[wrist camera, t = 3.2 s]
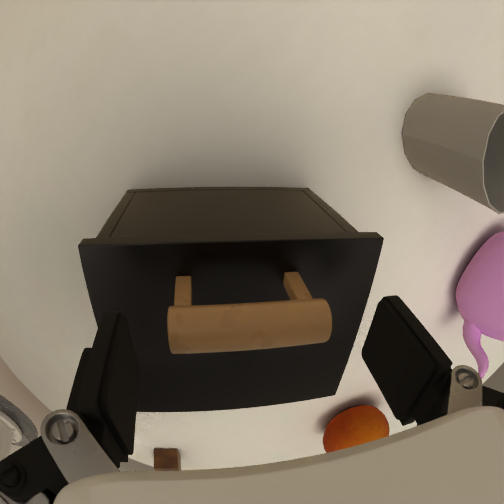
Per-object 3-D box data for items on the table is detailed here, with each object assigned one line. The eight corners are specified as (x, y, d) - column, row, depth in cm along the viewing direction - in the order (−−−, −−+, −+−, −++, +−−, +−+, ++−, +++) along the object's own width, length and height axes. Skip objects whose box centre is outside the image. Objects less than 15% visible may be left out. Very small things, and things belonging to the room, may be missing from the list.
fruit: (323, 403, 41) (341, 448, 34) (384, 389, 42) (406, 427, 35) (311, 438, 46) (325, 476, 39) (366, 424, 47) (382, 459, 40)
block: (158, 457, 42) (158, 476, 39) (153, 448, 40) (153, 468, 37) (180, 457, 43) (181, 477, 40) (177, 448, 41) (178, 468, 38)
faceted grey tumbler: (470, 121, 25) (544, 143, 16) (444, 188, 28) (514, 227, 19) (419, 77, 22) (502, 84, 13) (389, 154, 25) (467, 187, 16)
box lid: (82, 238, 13) (42, 300, 9) (376, 231, 16) (432, 281, 11) (128, 402, 19) (123, 464, 14) (331, 387, 21) (355, 441, 17)
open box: (127, 189, 23) (85, 253, 14) (308, 187, 26) (373, 245, 16) (142, 309, 28) (128, 402, 19) (293, 303, 31) (331, 386, 21)
